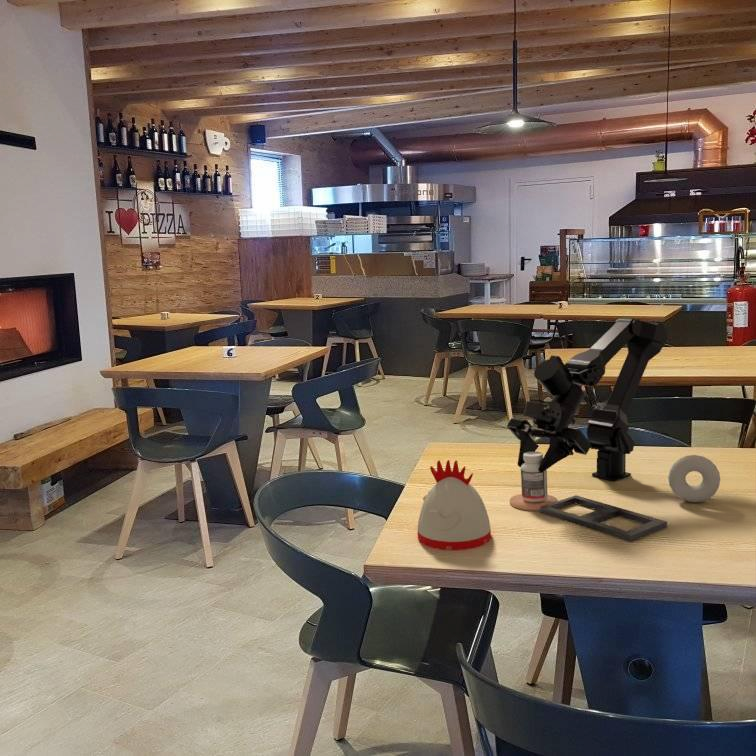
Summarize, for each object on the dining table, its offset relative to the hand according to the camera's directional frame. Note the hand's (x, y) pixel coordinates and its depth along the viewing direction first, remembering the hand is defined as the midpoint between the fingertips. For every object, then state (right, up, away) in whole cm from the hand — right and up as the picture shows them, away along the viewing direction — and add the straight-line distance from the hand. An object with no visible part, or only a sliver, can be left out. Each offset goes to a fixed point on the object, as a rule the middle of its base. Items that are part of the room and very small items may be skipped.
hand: (529, 468), depth 167 cm
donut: (+34, -7, -2) cm, 34 cm away
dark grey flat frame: (+12, -9, -10) cm, 18 cm away
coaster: (+1, -7, +2) cm, 8 cm away
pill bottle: (+2, -7, +2) cm, 7 cm away
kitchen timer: (-17, -11, -15) cm, 25 cm away
